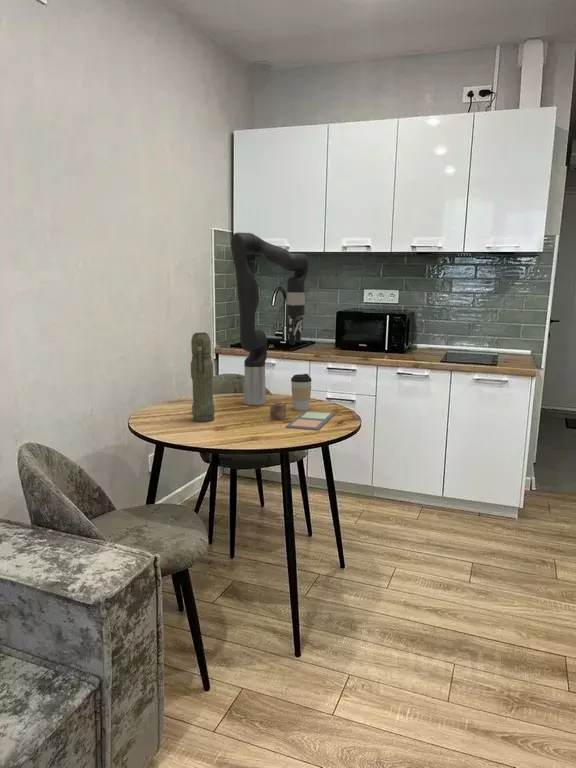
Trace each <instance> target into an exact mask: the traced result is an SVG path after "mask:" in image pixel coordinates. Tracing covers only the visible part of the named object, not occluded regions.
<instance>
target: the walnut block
mask: <svg viewBox="0 0 576 768" xmlns="http://www.w3.org/2000/svg"><path fill="white" fill-rule="evenodd" d="M269 405H270V406H269V407H270V409H269V410H270V411H269V412H270V416H269V418H270V419H269V420H275V421H283V420H285V419H286V418H287V403H286V402H273V403H271V404H269Z"/></svg>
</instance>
